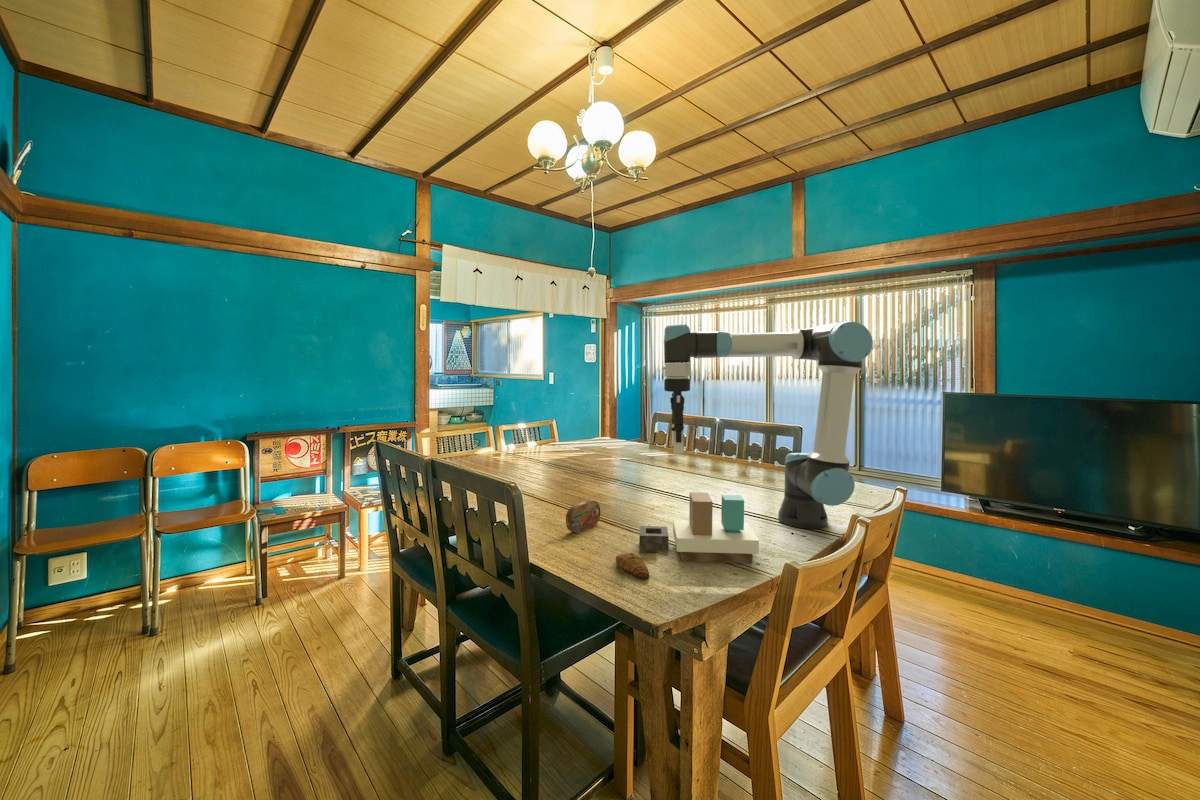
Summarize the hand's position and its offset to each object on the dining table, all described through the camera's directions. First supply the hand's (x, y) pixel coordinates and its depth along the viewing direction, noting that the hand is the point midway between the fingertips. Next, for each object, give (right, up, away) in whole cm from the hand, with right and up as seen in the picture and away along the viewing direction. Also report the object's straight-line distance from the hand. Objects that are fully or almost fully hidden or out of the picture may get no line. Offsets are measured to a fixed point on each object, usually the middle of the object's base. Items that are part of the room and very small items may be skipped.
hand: (677, 449), depth 142 cm
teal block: (+13, -27, -12) cm, 32 cm away
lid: (+8, -24, -12) cm, 28 cm away
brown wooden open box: (+8, -28, -12) cm, 31 cm away
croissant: (-15, -29, -21) cm, 39 cm away
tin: (-28, -27, +11) cm, 41 cm away
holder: (-8, -28, -5) cm, 29 cm away
